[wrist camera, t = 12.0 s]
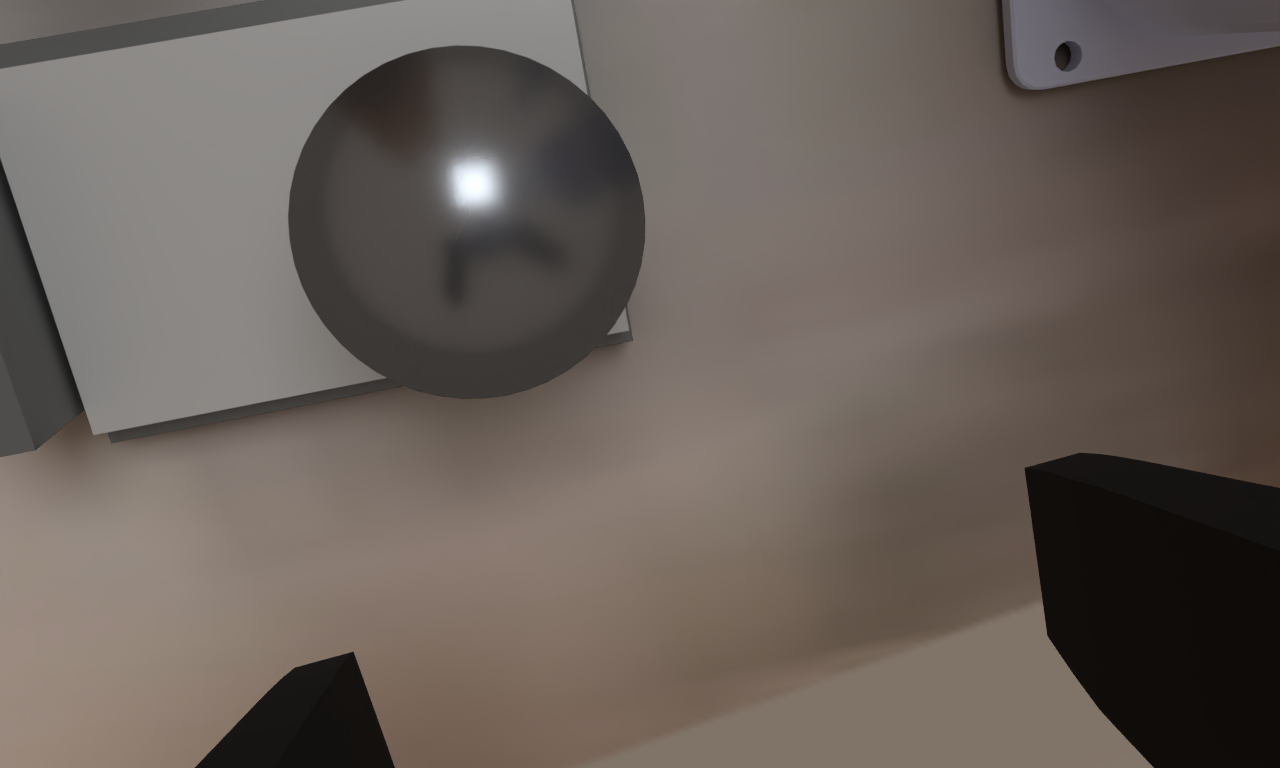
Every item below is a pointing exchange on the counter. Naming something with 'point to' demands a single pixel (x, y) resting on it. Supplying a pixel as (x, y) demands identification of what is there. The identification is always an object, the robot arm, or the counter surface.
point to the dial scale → (193, 205)
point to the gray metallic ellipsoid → (466, 222)
